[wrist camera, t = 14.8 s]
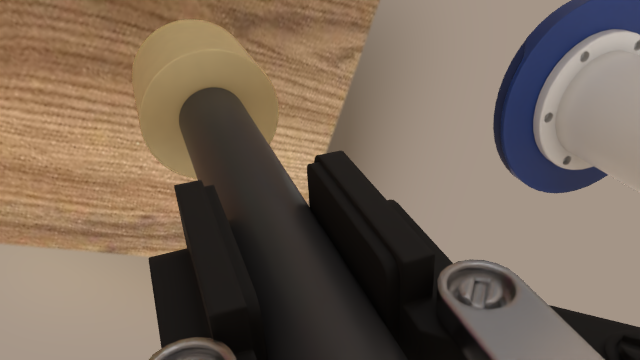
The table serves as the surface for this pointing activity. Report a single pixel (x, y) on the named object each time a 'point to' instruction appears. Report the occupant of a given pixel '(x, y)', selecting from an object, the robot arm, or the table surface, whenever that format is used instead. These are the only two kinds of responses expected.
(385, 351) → the brush
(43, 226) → the table surface
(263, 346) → the robot arm
